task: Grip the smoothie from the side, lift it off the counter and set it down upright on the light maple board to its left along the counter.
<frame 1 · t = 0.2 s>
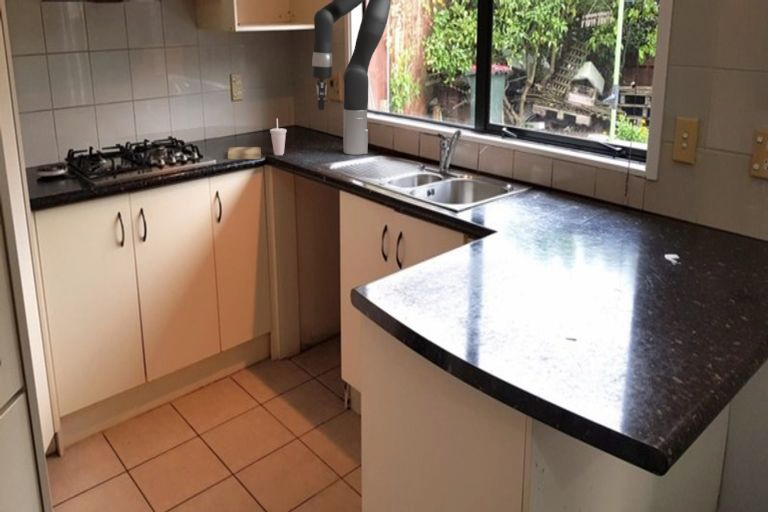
hand: (321, 108, 275), 18 cm above the worktop, tool pointing down, fingers open, 8 cm apart
smoothie: (279, 154, 277), on the worktop
board: (244, 155, 273), on the worktop
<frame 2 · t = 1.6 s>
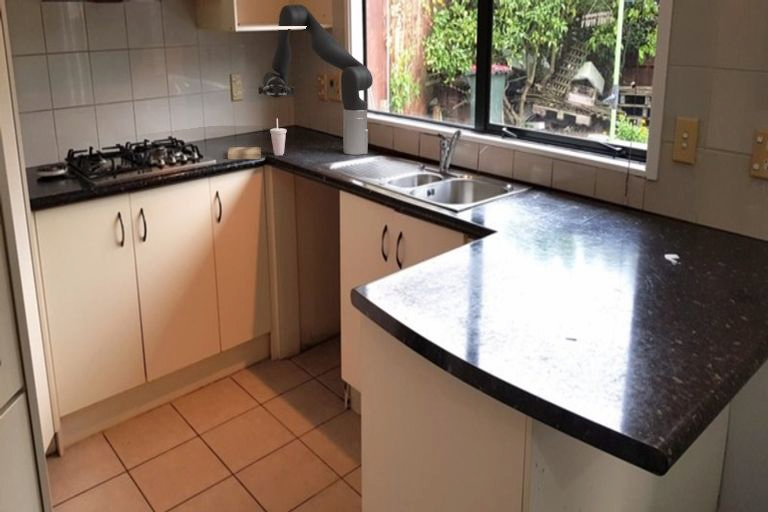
hand: (276, 92, 279), 22 cm above the worktop, tool horizontal, fingers open, 8 cm apart
nothing on the worktop moved.
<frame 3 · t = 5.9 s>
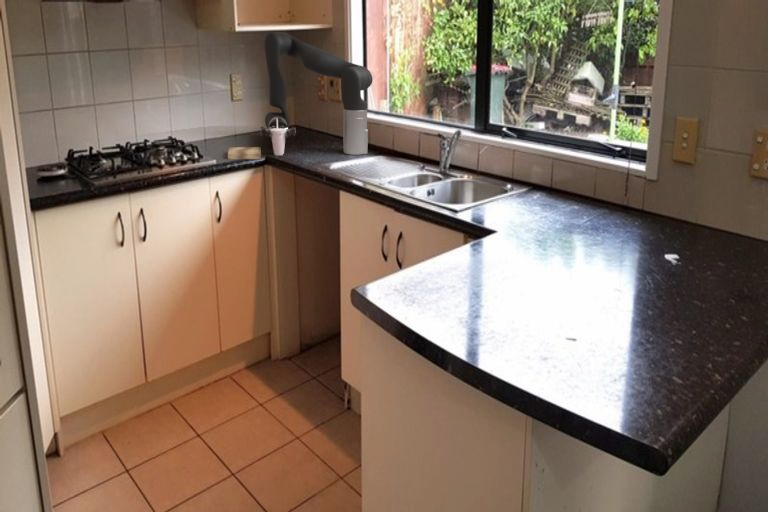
hand: (278, 134, 272), 8 cm above the worktop, tool horizontal, fingers closed on smoothie, 6 cm apart
smoothie: (279, 154, 277), on the worktop, touching gripper
when the fingers open (11 cm above the worktop, at t = 10.8 s): smoothie stays where it is, resting on board.
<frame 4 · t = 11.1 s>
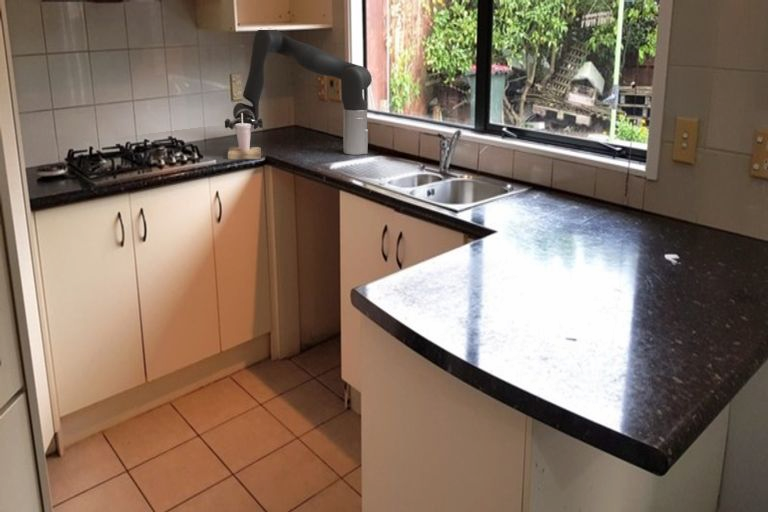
hand: (243, 126, 267), 11 cm above the worktop, tool horizontal, fingers open, 8 cm apart
smoothie: (244, 150, 272), point 2 cm above the worktop, touching board
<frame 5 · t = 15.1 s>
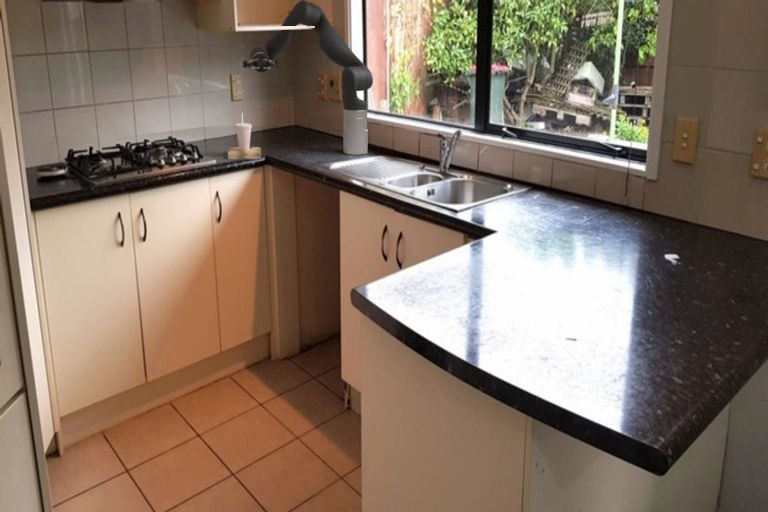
hand: (260, 65, 280), 32 cm above the worktop, tool horizontal, fingers open, 8 cm apart
nothing on the worktop moved.
at the end: smoothie inside the target area on the board (0.2 cm from its centre), point 2.1 cm above the board's base; smoothie tilted 0°; the gripper is holding nothing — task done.
